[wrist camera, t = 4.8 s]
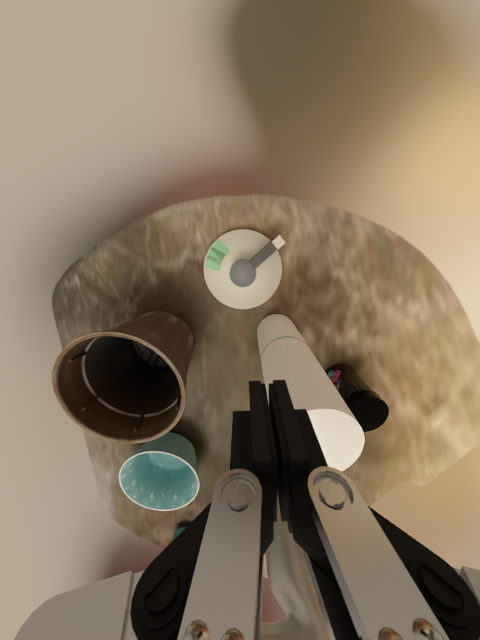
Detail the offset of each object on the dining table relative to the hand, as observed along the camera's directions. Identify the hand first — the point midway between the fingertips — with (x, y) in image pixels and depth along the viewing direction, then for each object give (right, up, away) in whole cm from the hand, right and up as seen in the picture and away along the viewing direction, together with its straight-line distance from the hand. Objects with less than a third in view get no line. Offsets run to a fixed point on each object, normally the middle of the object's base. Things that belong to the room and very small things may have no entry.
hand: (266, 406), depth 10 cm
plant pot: (-16, 0, +32) cm, 36 cm away
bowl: (-17, -25, +41) cm, 51 cm away
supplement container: (+19, -7, +34) cm, 40 cm away
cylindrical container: (+5, +2, +31) cm, 32 cm away
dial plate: (-1, +13, +28) cm, 30 cm away
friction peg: (+1, +14, +25) cm, 29 cm away
